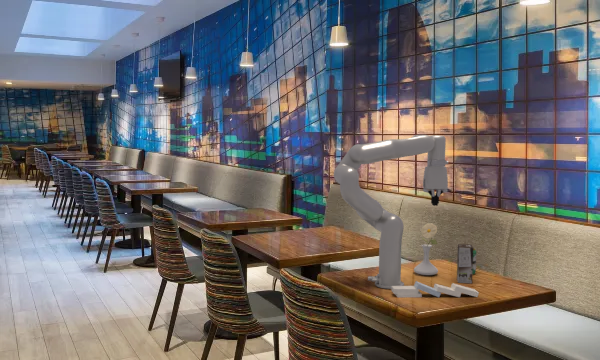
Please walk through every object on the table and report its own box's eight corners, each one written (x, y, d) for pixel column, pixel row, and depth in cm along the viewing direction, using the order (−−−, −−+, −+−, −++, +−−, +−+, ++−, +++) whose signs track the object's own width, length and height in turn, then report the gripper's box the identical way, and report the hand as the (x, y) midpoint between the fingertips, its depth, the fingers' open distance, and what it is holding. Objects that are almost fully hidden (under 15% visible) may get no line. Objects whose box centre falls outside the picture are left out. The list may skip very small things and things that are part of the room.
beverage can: (472, 276, 278) (472, 251, 277) (455, 273, 282) (456, 248, 281) (478, 273, 284) (479, 248, 283) (462, 270, 289) (462, 246, 288)
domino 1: (418, 293, 241) (394, 293, 241) (415, 290, 246) (391, 290, 246) (418, 289, 241) (394, 289, 241) (415, 285, 246) (391, 285, 246)
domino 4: (460, 297, 242) (436, 291, 241) (456, 294, 247) (433, 288, 246) (461, 292, 242) (438, 286, 241) (457, 289, 247) (434, 283, 246)
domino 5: (477, 297, 242) (454, 290, 241) (473, 293, 247) (450, 287, 246) (478, 292, 242) (455, 286, 241) (474, 289, 247) (452, 283, 246)
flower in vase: (408, 272, 284) (410, 220, 282) (428, 270, 288) (429, 219, 286) (425, 278, 272) (427, 224, 270) (445, 276, 277) (447, 223, 275)
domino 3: (439, 297, 241) (416, 288, 241) (435, 294, 246) (413, 285, 246) (441, 292, 241) (418, 284, 241) (437, 289, 246) (415, 281, 246)
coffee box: (472, 283, 264) (473, 248, 262) (457, 282, 265) (458, 247, 264) (470, 278, 273) (472, 244, 271) (456, 277, 274) (457, 243, 273)
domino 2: (421, 298, 241) (397, 299, 241) (418, 295, 246) (394, 295, 246) (421, 293, 241) (397, 294, 241) (418, 290, 246) (394, 290, 246)
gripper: (450, 163, 263) (449, 204, 264) (417, 163, 262) (416, 204, 264) (455, 164, 255) (454, 206, 257) (421, 164, 255) (420, 206, 256)
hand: (434, 205), depth 260 cm, fingers closed
